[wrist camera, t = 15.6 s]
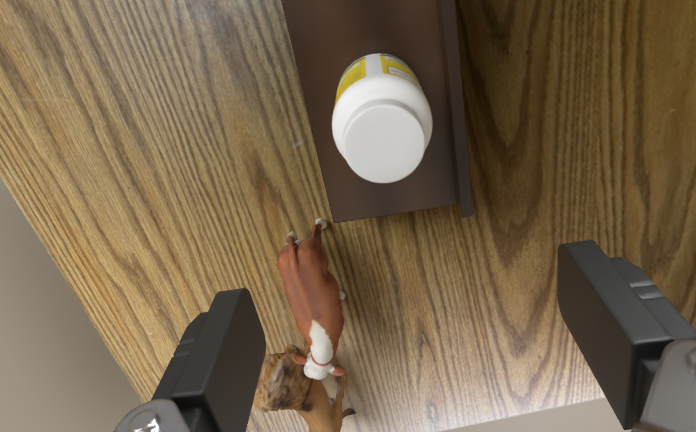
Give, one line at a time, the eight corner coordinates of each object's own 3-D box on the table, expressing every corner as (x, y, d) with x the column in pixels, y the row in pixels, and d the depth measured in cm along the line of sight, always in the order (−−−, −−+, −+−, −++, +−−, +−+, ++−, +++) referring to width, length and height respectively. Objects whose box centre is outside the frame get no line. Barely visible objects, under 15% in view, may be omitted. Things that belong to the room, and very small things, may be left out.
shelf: (336, 197, 40) (331, 237, 35) (282, -43, 32) (264, -43, 26) (457, 178, 39) (473, 216, 33) (433, -76, 31) (448, -85, 25)
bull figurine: (308, 330, 47) (297, 397, 40) (282, 208, 41) (264, 261, 34) (352, 327, 47) (350, 394, 40) (333, 203, 41) (326, 255, 33)
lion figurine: (248, 329, 47) (224, 403, 39) (291, 305, 46) (275, 377, 38) (336, 416, 53) (330, 497, 45) (377, 397, 51) (379, 478, 43)
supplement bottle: (342, 138, 33) (334, 201, 25) (332, 57, 31) (318, 95, 22) (421, 130, 33) (442, 191, 24) (417, 47, 30) (438, 81, 22)
